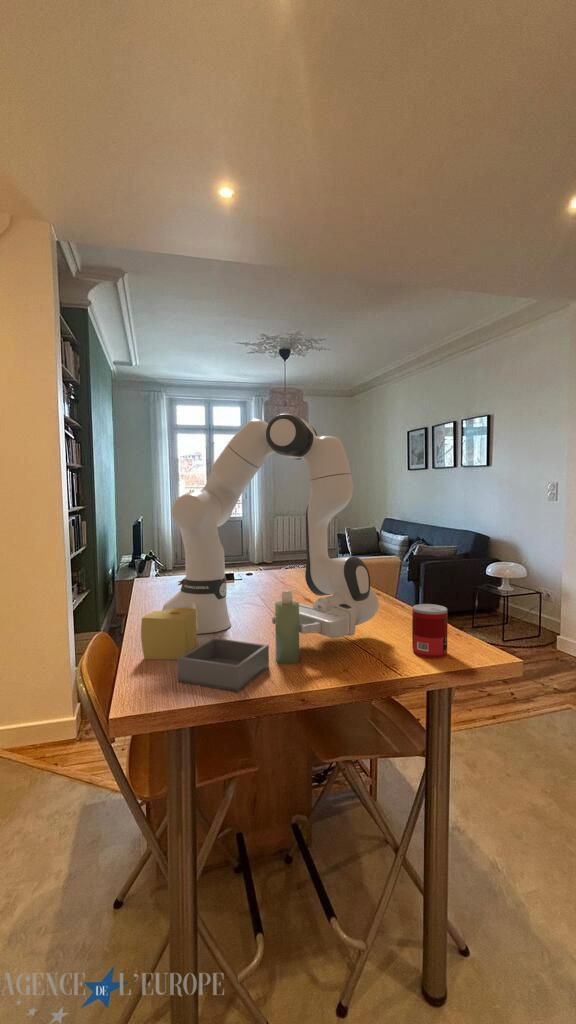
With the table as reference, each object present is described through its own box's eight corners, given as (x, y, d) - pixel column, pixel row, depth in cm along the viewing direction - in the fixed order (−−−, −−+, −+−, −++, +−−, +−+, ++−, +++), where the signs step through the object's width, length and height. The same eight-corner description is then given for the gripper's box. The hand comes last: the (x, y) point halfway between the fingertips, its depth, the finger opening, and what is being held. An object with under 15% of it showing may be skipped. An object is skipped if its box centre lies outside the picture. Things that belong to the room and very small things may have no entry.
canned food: (452, 658, 109) (452, 611, 108) (417, 659, 109) (417, 611, 108) (441, 647, 117) (441, 603, 116) (408, 648, 117) (408, 603, 116)
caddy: (178, 681, 97) (177, 657, 97) (214, 659, 110) (213, 637, 110) (238, 692, 92) (238, 667, 92) (268, 667, 105) (268, 645, 104)
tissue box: (158, 645, 120) (157, 606, 120) (199, 646, 119) (198, 607, 119) (140, 660, 110) (139, 617, 110) (185, 661, 109) (185, 618, 108)
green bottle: (271, 661, 108) (271, 592, 107) (281, 654, 113) (280, 587, 112) (294, 665, 106) (293, 594, 105) (302, 657, 111) (302, 589, 110)
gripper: (300, 595, 126) (259, 603, 117) (360, 609, 110) (317, 620, 101) (300, 618, 126) (259, 628, 117) (359, 636, 111) (317, 649, 102)
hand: (287, 625), depth 109 cm, fingers open, 8 cm apart
